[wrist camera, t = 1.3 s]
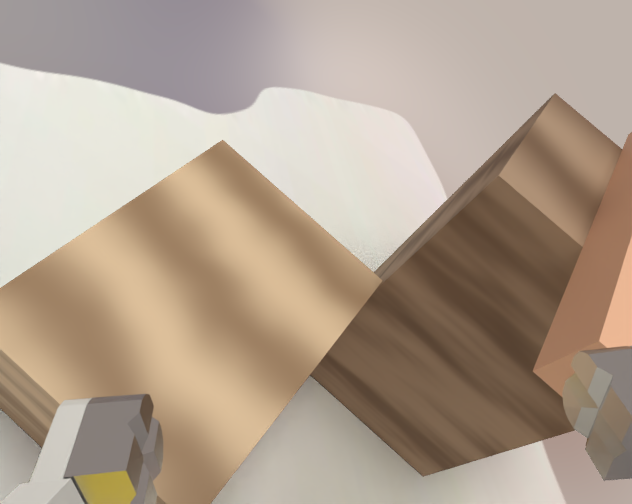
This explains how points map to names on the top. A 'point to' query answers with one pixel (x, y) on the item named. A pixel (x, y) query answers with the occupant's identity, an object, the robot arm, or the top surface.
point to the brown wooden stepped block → (313, 310)
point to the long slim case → (596, 285)
